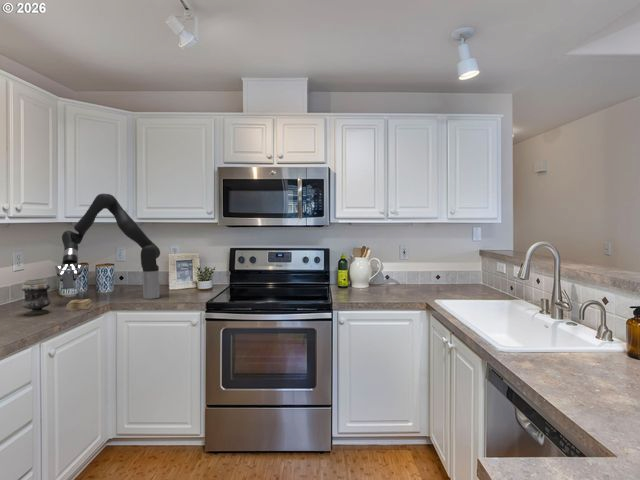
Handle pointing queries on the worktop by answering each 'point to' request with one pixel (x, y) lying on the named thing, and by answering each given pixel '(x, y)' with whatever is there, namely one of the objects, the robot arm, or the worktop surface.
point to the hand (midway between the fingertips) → (68, 280)
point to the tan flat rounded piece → (79, 304)
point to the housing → (68, 279)
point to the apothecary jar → (36, 296)
